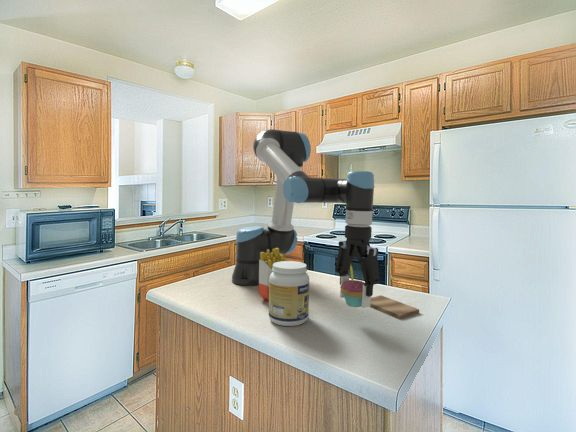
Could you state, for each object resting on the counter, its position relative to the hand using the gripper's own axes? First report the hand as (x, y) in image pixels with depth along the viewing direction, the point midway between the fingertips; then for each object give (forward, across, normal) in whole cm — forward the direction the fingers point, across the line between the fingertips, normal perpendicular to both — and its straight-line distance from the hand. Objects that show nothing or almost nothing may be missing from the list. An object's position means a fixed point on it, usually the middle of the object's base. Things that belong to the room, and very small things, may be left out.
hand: (354, 301), depth 91 cm
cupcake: (+1, 0, 0) cm, 1 cm away
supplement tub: (+7, -12, -15) cm, 21 cm away
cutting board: (+7, -4, +20) cm, 21 cm away
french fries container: (+8, -30, -10) cm, 33 cm away
